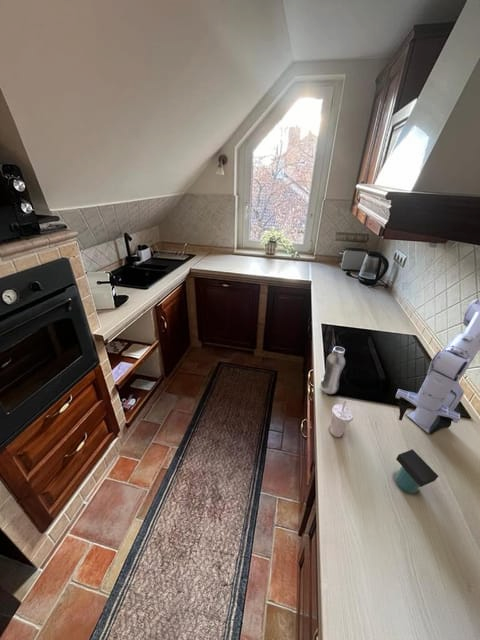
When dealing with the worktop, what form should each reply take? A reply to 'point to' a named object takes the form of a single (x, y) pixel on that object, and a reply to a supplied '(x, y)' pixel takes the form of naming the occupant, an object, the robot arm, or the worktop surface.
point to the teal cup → (406, 481)
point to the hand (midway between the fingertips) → (415, 424)
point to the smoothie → (340, 419)
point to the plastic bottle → (333, 371)
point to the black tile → (416, 468)
